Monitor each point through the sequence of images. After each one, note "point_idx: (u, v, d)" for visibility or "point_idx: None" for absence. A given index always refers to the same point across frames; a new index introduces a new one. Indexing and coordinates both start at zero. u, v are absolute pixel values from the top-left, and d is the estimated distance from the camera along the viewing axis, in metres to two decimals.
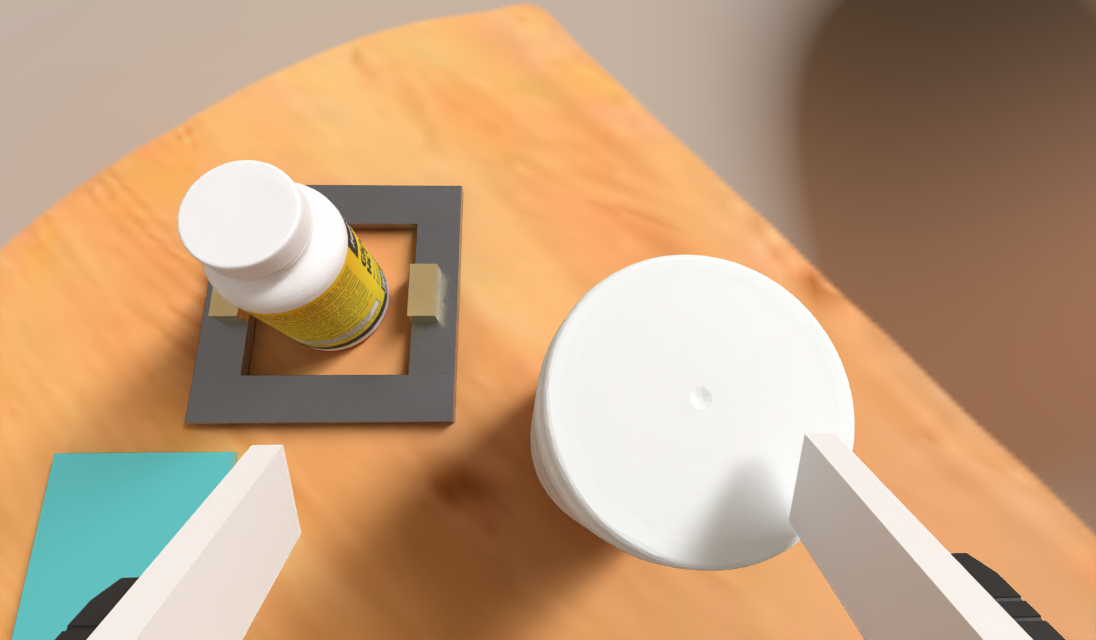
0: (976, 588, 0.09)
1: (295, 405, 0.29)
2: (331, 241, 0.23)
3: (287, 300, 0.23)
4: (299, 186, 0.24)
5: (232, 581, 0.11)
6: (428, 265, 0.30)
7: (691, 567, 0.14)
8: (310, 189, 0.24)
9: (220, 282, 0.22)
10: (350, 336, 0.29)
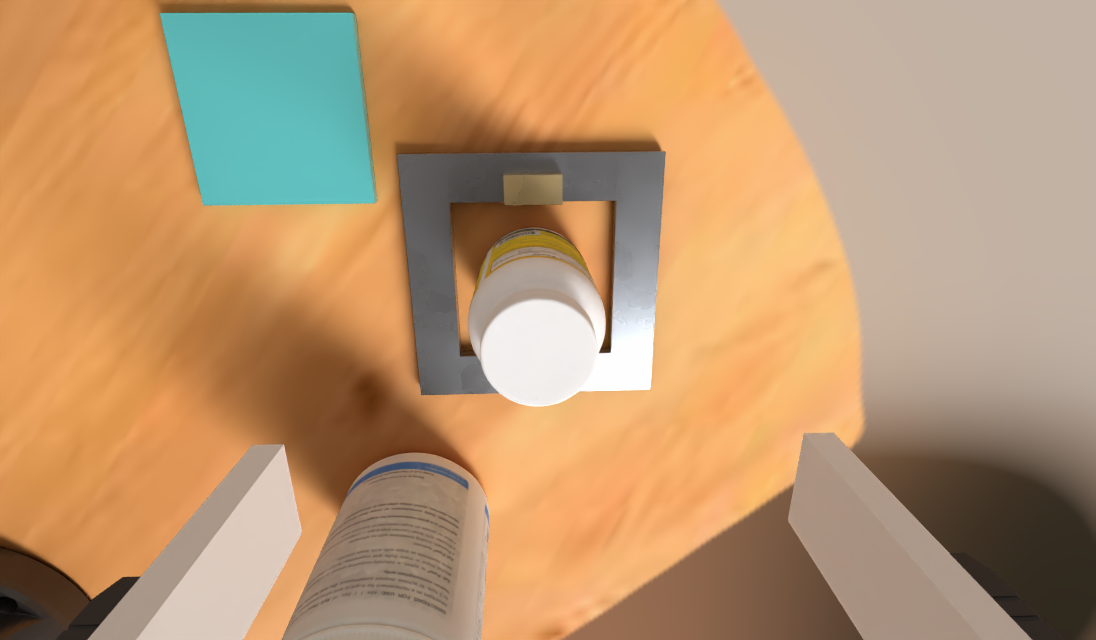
0: (974, 587, 0.09)
1: (423, 260, 0.30)
2: None
3: (476, 353, 0.24)
4: None
5: (233, 581, 0.11)
6: None
7: None
8: None
9: (488, 298, 0.23)
10: None
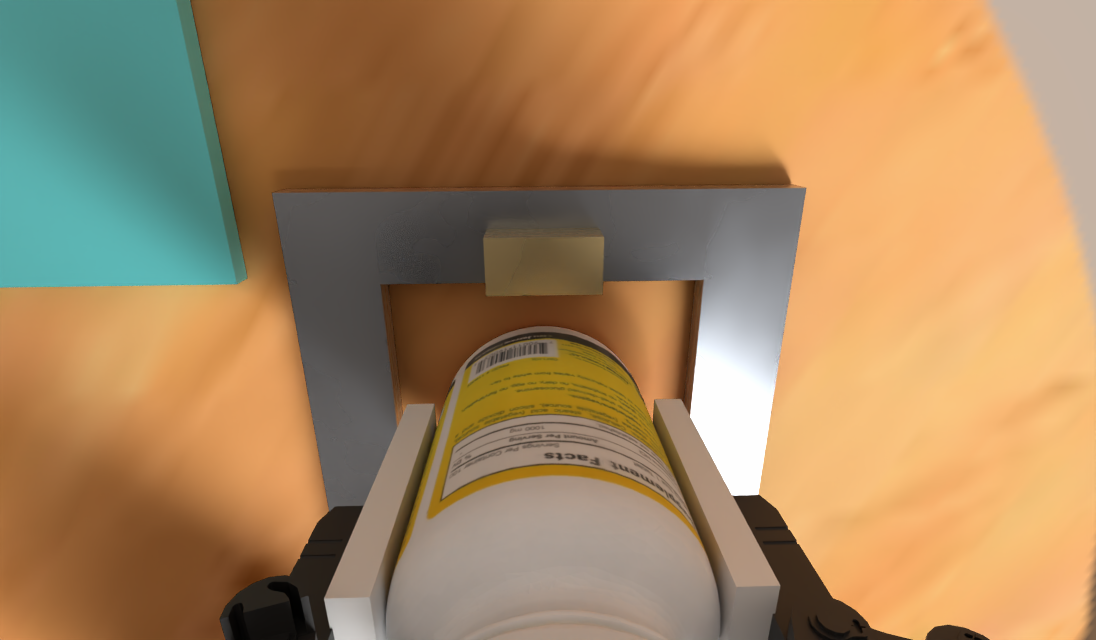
0: (740, 516, 0.11)
1: (337, 386, 0.16)
2: None
3: None
4: None
5: None
6: None
7: None
8: None
9: (429, 596, 0.09)
10: None
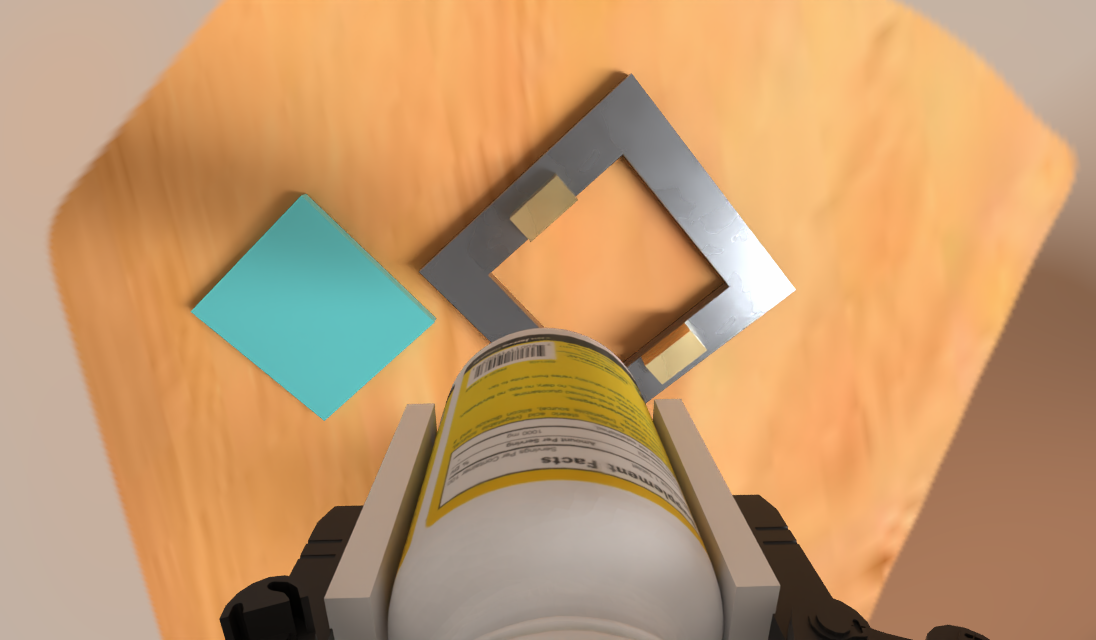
0: (739, 516, 0.11)
1: None
2: None
3: None
4: None
5: None
6: (700, 345, 0.28)
7: None
8: None
9: (428, 605, 0.09)
10: None
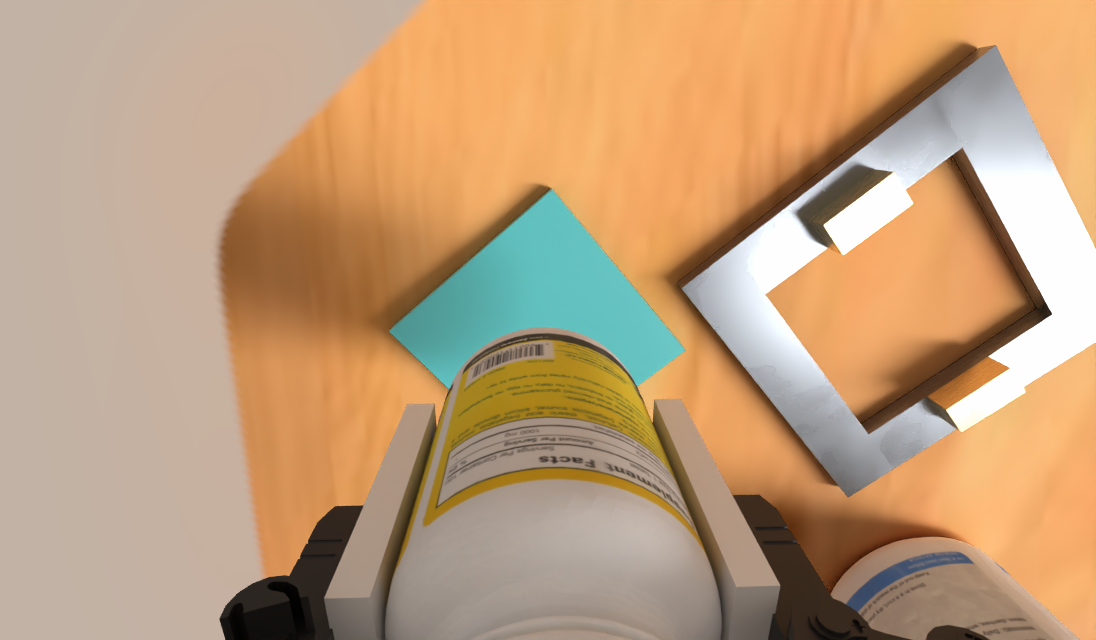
0: (740, 516, 0.11)
1: (771, 368, 0.24)
2: None
3: None
4: None
5: None
6: (1018, 386, 0.23)
7: None
8: None
9: (425, 604, 0.09)
10: None
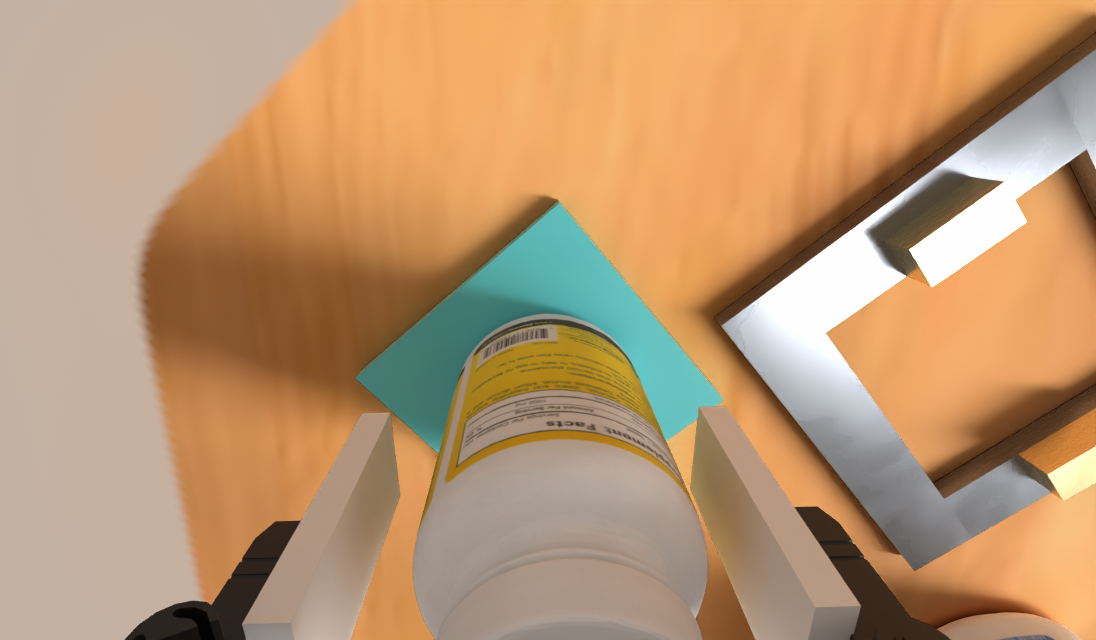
0: (806, 531, 0.11)
1: (829, 422, 0.19)
2: None
3: (434, 637, 0.11)
4: None
5: (365, 528, 0.12)
6: None
7: None
8: None
9: (450, 546, 0.10)
10: None
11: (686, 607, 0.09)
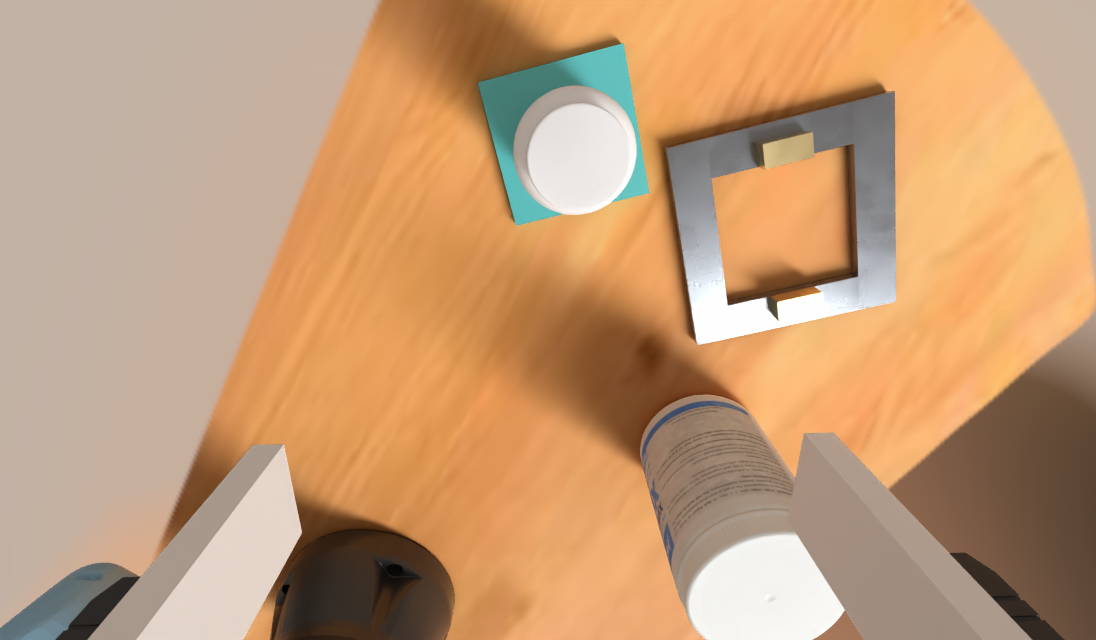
0: (974, 587, 0.09)
1: (692, 231, 0.36)
2: (550, 204, 0.27)
3: (516, 151, 0.26)
4: None
5: (233, 581, 0.11)
6: (821, 306, 0.37)
7: (687, 603, 0.30)
8: (607, 202, 0.27)
9: (551, 102, 0.25)
10: None
11: None
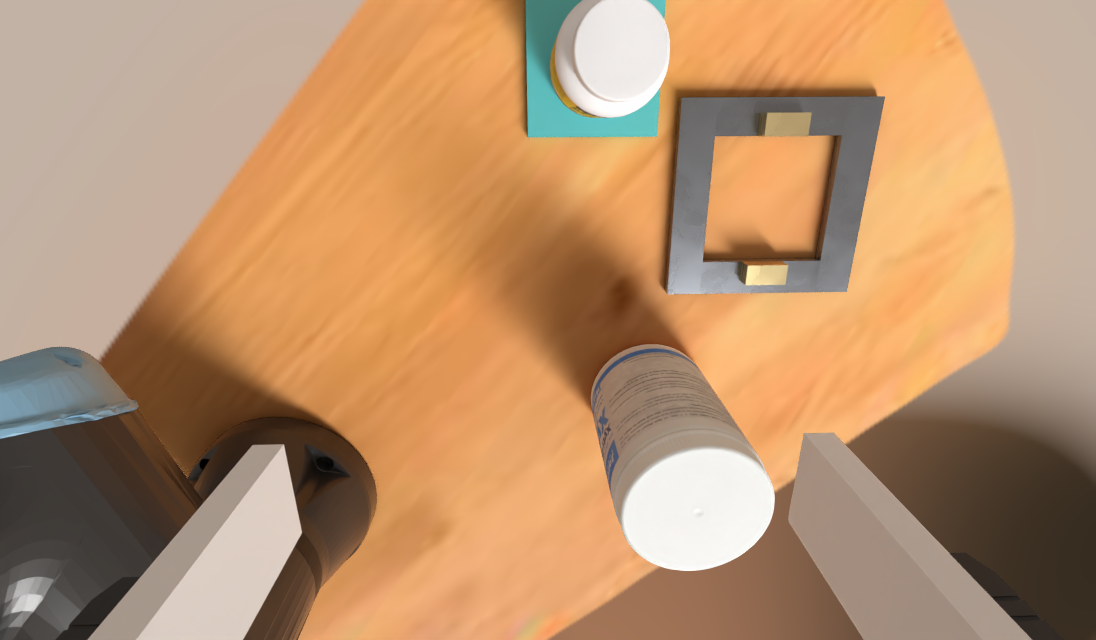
0: (975, 587, 0.09)
1: (687, 182, 0.39)
2: (580, 97, 0.29)
3: (560, 37, 0.28)
4: (637, 102, 0.29)
5: (233, 581, 0.11)
6: (784, 278, 0.40)
7: (623, 505, 0.32)
8: (631, 109, 0.29)
9: None
10: (550, 60, 0.34)
11: None
